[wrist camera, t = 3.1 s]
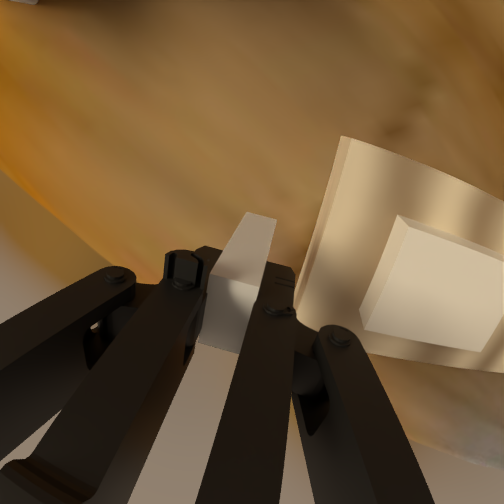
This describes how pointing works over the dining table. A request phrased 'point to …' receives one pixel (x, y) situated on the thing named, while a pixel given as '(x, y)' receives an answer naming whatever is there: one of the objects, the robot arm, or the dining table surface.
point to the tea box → (27, 1)
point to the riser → (375, 239)
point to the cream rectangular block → (435, 288)
